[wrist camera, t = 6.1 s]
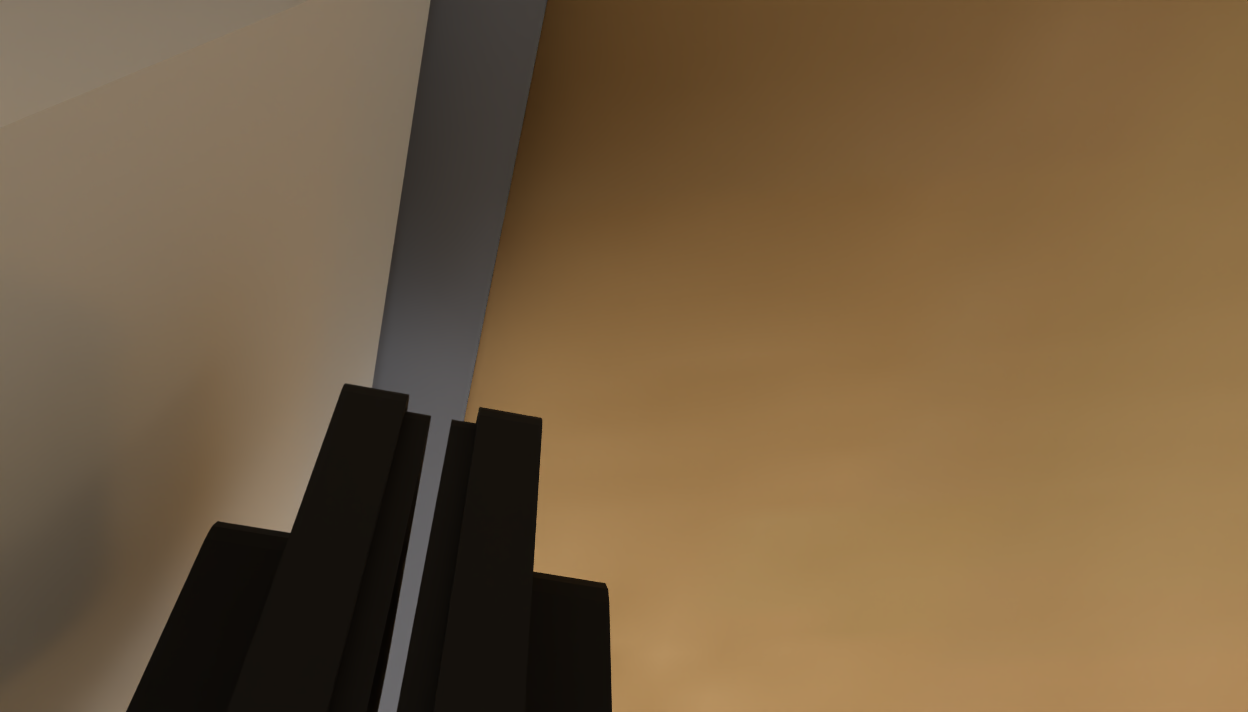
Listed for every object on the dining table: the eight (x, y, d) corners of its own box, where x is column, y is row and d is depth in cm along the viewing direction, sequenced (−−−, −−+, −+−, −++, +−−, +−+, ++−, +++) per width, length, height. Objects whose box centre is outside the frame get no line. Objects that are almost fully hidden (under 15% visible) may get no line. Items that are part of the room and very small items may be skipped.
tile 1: (152, -135, 12) (-1297, 58, 4) (438, -55, 12) (-461, 318, 4) (128, 496, 16) (-629, 1244, 8) (345, 563, 15) (-201, 1398, 8)
